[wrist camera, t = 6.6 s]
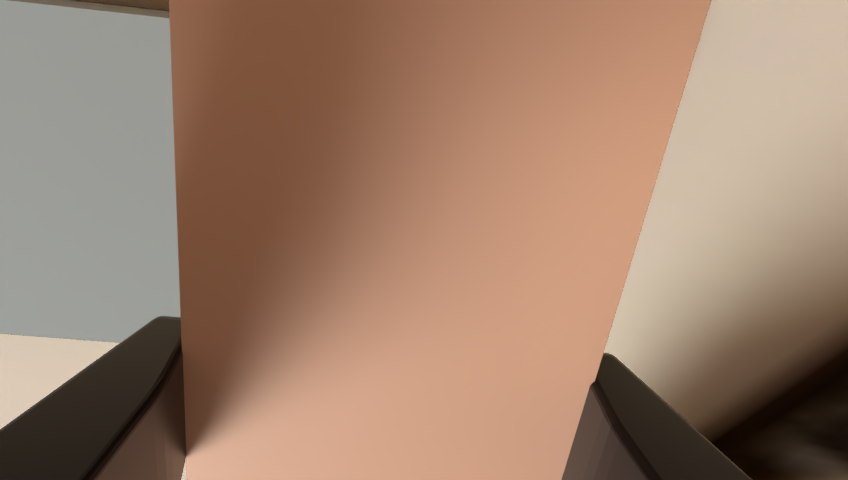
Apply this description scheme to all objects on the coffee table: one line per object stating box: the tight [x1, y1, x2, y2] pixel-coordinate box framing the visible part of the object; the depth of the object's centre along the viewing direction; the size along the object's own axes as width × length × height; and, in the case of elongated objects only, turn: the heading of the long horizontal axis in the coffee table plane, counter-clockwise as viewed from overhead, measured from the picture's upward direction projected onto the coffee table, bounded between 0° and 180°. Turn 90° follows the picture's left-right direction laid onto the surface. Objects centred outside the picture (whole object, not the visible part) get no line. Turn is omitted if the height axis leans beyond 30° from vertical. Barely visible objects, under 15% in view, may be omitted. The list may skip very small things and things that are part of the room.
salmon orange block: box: [169, 0, 711, 480], centre depth 9 cm, size 9×4×4 cm, turn 173°
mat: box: [0, 0, 181, 343], centre depth 21 cm, size 10×10×1 cm
